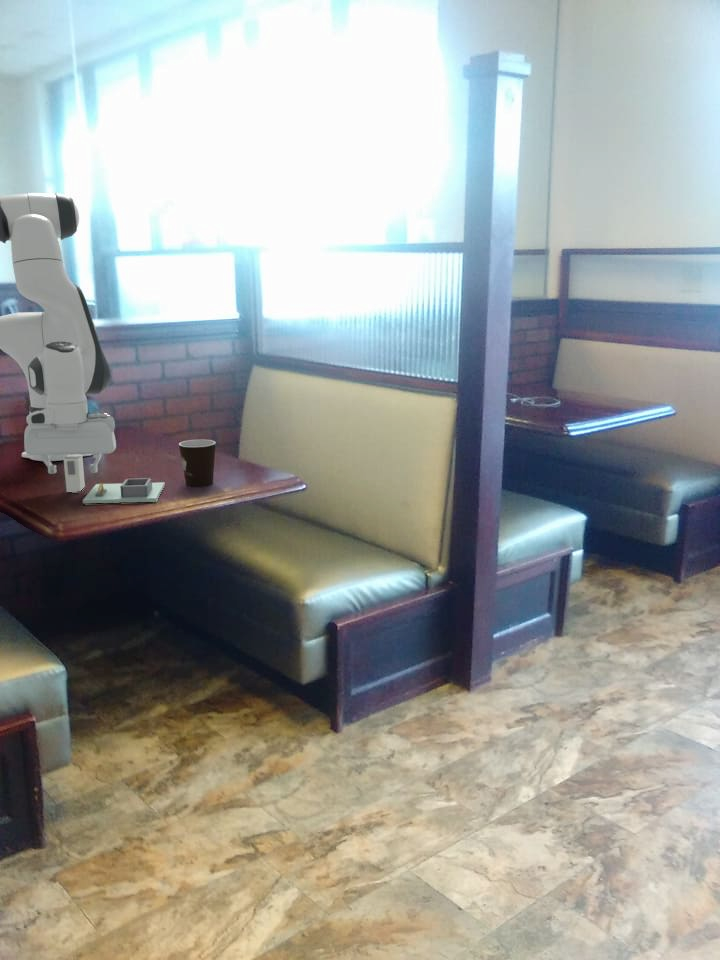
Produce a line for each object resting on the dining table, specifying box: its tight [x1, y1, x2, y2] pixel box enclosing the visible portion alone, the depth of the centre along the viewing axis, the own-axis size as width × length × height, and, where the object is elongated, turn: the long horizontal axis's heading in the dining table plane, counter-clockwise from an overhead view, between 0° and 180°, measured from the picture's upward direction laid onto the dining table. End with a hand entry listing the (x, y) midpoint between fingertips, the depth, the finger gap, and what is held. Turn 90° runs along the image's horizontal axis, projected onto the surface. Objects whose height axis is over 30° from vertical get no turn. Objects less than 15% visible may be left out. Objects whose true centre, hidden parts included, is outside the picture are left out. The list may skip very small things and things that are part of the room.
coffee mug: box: [178, 439, 217, 488], centre depth 210 cm, size 12×9×10 cm
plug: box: [63, 455, 86, 493], centre depth 204 cm, size 5×3×8 cm, turn 5°
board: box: [82, 477, 166, 504], centre depth 200 cm, size 14×16×4 cm
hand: (73, 472), depth 204 cm, fingers open, 8 cm apart
